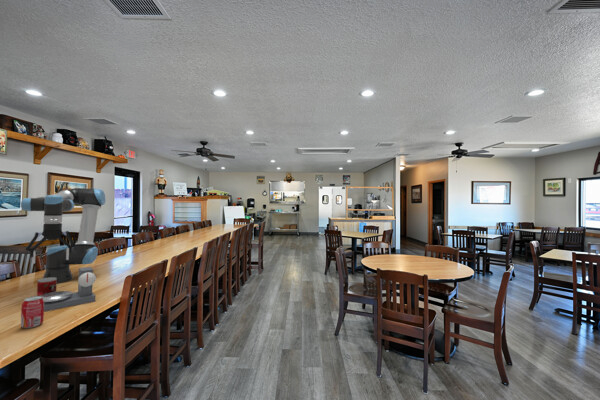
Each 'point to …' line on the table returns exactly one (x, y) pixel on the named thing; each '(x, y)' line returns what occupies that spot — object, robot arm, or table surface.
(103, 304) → the table surface
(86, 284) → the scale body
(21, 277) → the table surface
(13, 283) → the table surface
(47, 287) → the canned food
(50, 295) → the pan
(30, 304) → the soda can
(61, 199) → the robot arm
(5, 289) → the table surface
